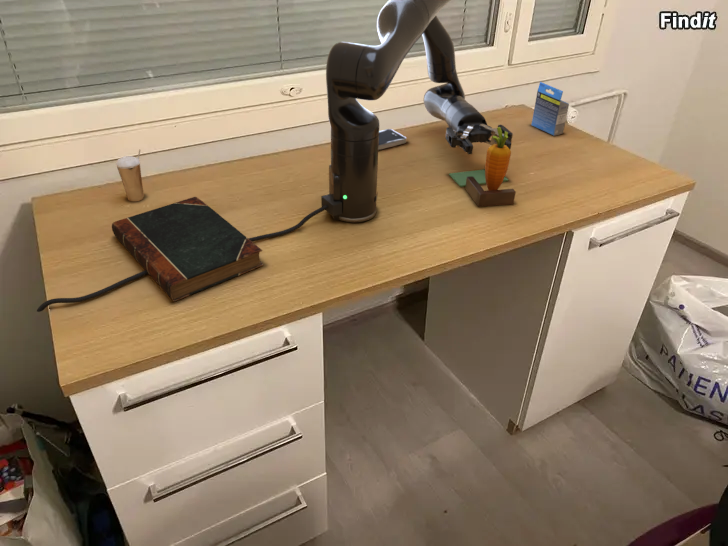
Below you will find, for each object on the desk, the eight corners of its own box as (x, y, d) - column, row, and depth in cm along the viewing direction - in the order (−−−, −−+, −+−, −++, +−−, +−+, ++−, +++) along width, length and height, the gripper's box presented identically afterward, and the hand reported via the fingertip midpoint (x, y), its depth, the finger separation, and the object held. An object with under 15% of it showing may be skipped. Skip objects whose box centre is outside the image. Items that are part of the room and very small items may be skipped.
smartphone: (342, 139, 148) (390, 128, 155) (342, 144, 149) (390, 133, 156) (358, 150, 143) (407, 138, 150) (358, 155, 144) (407, 143, 151)
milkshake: (154, 196, 124) (145, 152, 118) (131, 205, 121) (121, 160, 115) (143, 189, 126) (134, 146, 121) (120, 197, 123) (109, 153, 117)
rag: (460, 187, 131) (460, 185, 131) (448, 175, 136) (449, 173, 136) (508, 181, 134) (508, 179, 134) (495, 169, 139) (495, 168, 139)
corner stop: (478, 206, 124) (480, 194, 122) (465, 188, 131) (466, 176, 129) (513, 204, 126) (515, 191, 124) (498, 186, 132) (500, 174, 130)
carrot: (503, 201, 126) (515, 135, 118) (479, 198, 127) (490, 132, 118) (503, 190, 130) (514, 126, 122) (480, 188, 131) (490, 124, 122)
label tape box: (563, 133, 159) (574, 88, 152) (552, 136, 157) (562, 91, 150) (540, 123, 165) (549, 79, 158) (529, 125, 163) (538, 81, 156)
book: (264, 266, 104) (199, 211, 120) (262, 249, 102) (196, 195, 117) (172, 303, 95) (114, 238, 110) (168, 285, 93) (110, 221, 108)
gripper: (438, 107, 136) (460, 134, 123) (495, 105, 139) (523, 131, 126) (435, 138, 141) (456, 167, 128) (490, 135, 143) (517, 163, 130)
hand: (490, 149), depth 127 cm, fingers open, 8 cm apart
